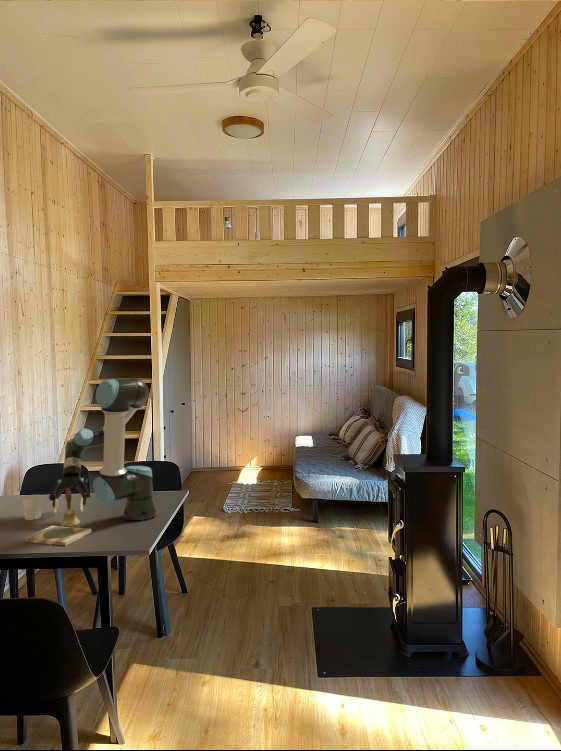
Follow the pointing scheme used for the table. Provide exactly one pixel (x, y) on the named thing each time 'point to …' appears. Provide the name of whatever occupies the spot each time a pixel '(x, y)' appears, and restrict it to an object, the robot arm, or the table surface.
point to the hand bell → (69, 512)
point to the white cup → (32, 507)
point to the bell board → (58, 535)
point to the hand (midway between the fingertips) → (68, 512)
